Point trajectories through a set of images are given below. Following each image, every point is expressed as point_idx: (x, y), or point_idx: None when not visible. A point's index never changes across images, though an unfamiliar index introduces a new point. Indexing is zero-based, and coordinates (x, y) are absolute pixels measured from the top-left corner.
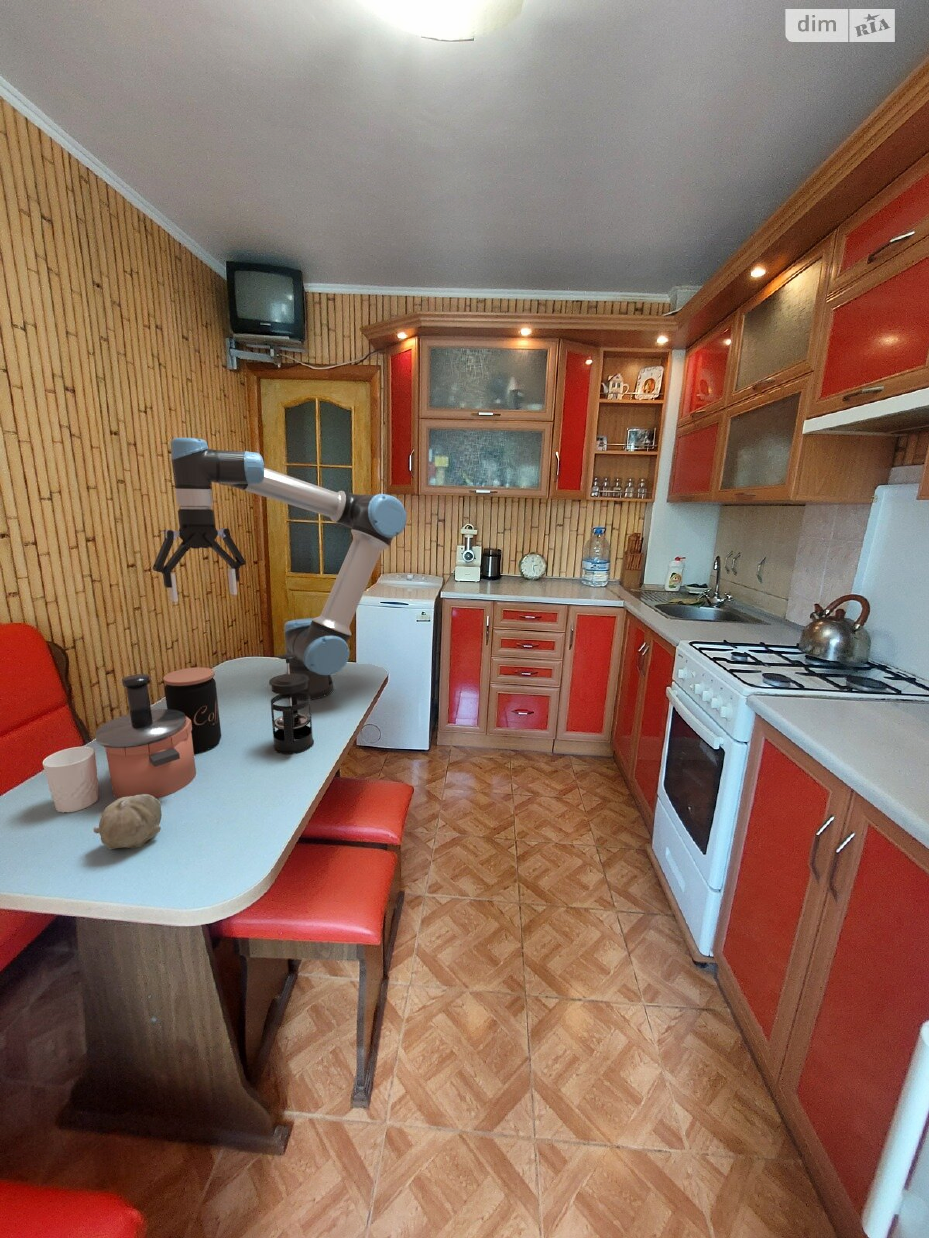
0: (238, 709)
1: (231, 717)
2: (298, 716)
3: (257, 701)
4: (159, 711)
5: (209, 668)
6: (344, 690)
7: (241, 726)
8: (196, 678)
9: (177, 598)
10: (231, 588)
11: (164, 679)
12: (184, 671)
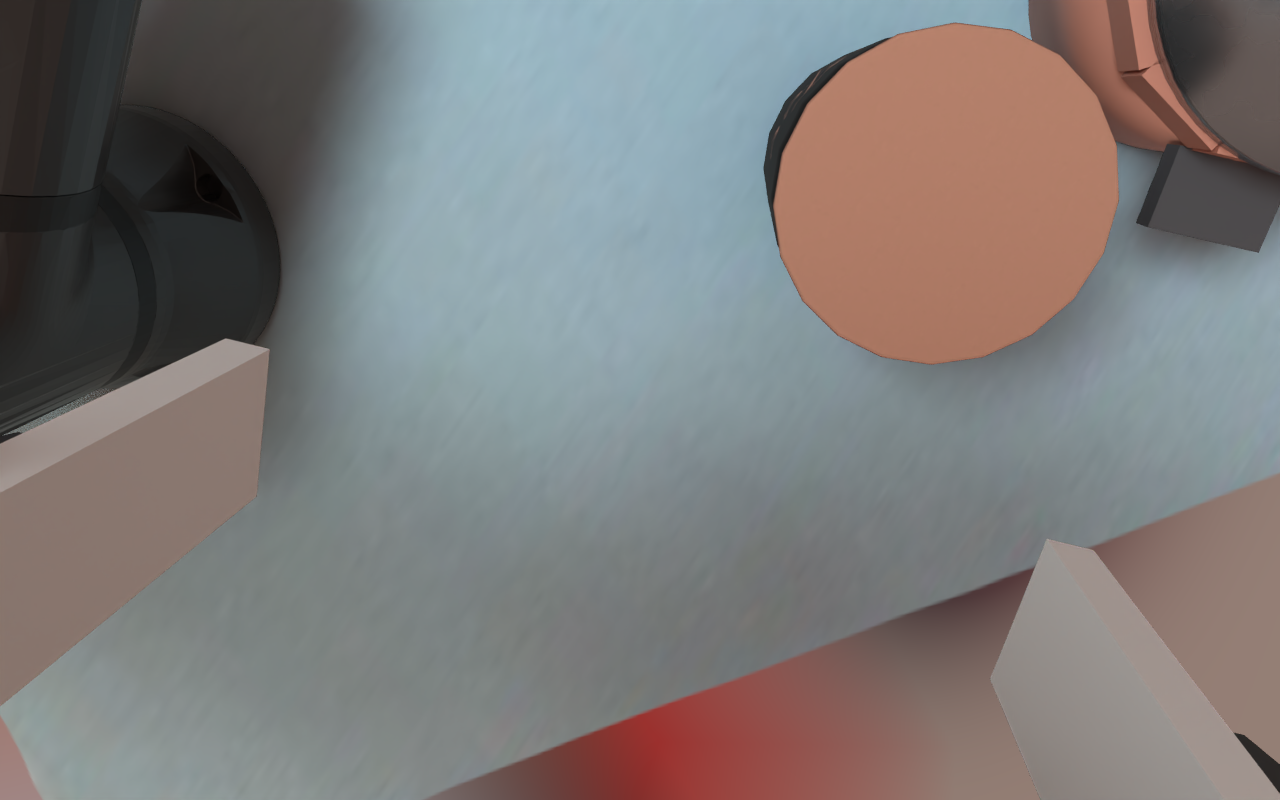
0: (516, 357)
1: (593, 302)
2: None
3: (400, 363)
4: (1222, 60)
5: (780, 204)
6: None
7: (631, 163)
8: (980, 67)
9: (1068, 560)
10: (216, 456)
11: (1102, 247)
12: (917, 292)
